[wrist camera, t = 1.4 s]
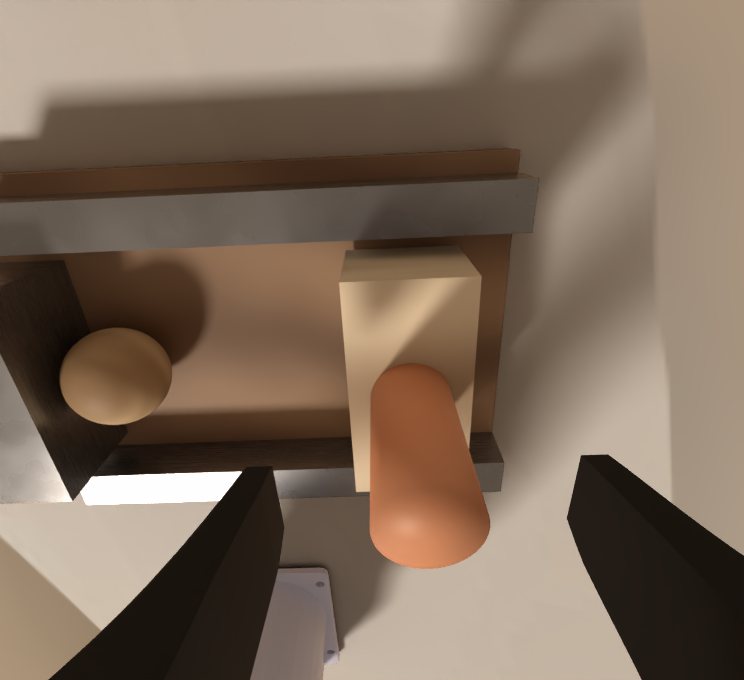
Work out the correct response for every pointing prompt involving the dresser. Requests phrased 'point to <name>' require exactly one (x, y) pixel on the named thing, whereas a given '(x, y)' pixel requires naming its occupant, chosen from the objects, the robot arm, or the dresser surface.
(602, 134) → the dresser surface
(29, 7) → the dresser surface
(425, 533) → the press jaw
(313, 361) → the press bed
